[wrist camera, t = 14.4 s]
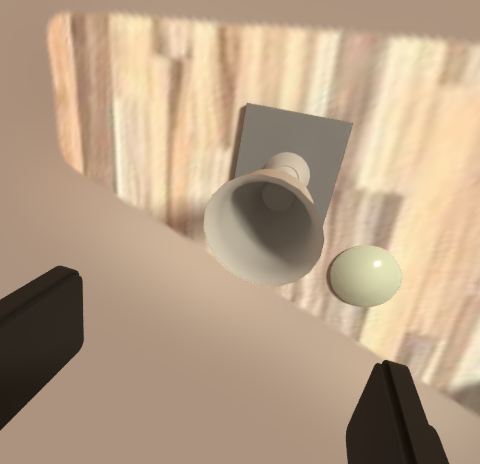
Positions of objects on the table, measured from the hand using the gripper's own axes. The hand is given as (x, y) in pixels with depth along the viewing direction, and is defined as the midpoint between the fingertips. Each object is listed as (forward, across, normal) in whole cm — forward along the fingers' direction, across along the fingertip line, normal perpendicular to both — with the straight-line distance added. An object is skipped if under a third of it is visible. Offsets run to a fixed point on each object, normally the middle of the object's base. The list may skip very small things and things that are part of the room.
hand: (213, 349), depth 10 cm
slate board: (+29, 0, 0) cm, 29 cm away
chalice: (+28, 0, 0) cm, 28 cm away
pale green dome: (+29, -12, +10) cm, 33 cm away
